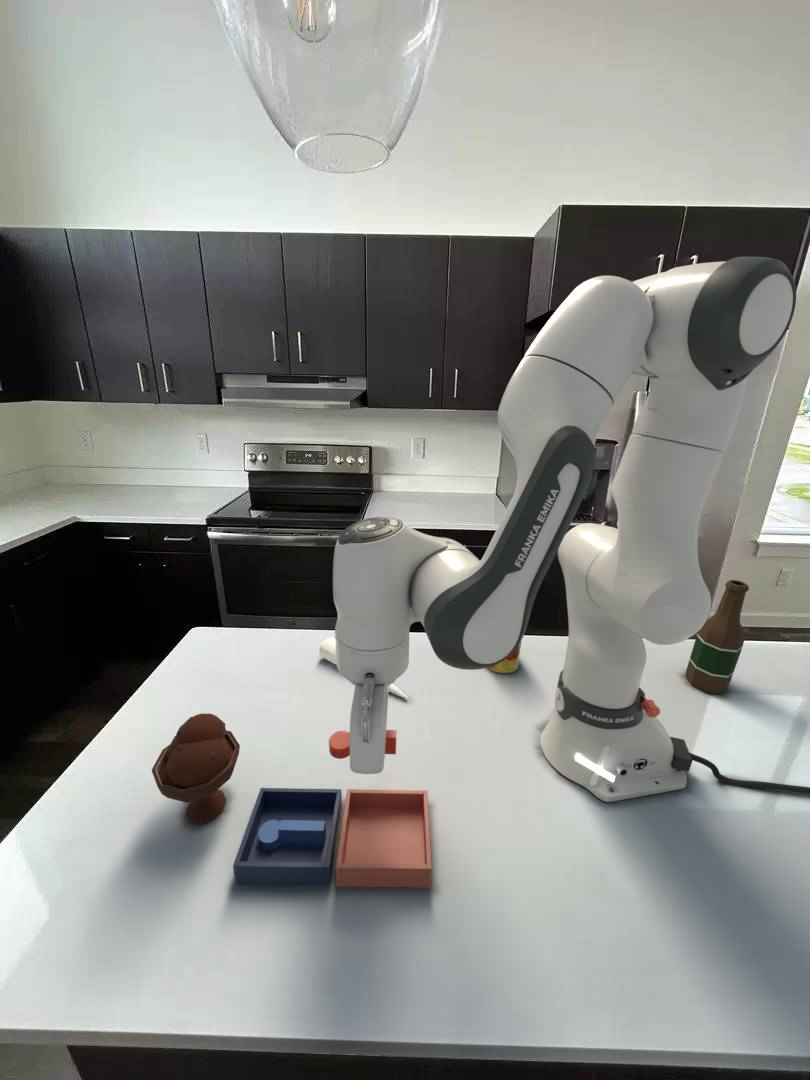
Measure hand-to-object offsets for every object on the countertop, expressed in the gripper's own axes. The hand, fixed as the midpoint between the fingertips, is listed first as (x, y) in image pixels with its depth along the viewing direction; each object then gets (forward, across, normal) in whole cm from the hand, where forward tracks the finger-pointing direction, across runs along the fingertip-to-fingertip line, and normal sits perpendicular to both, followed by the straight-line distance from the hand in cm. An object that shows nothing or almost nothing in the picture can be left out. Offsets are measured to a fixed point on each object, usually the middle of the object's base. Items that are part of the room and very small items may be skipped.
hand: (373, 738), depth 56 cm
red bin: (+15, -4, -2) cm, 15 cm away
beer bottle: (+16, +32, -69) cm, 78 cm away
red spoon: (+2, 0, +2) cm, 2 cm away
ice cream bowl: (+15, +1, +25) cm, 29 cm away
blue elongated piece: (+14, -4, +11) cm, 18 cm away
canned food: (+15, +38, -26) cm, 48 cm away
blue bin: (+15, -4, +11) cm, 19 cm away
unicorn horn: (+15, +32, +5) cm, 36 cm away
